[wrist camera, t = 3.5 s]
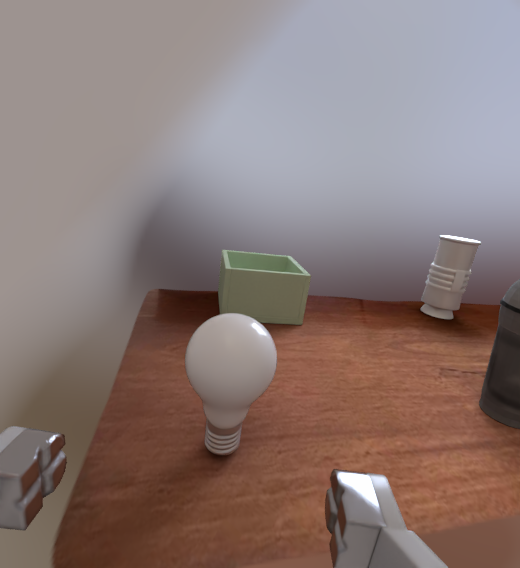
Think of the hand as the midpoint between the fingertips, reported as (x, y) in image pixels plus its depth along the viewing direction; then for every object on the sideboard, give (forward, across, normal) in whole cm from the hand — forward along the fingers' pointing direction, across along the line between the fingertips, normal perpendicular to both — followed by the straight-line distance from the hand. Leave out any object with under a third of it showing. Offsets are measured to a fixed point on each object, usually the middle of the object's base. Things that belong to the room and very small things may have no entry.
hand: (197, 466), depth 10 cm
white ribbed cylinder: (+53, -37, +12) cm, 65 cm away
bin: (+43, -1, +11) cm, 44 cm away
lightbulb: (+12, 0, +11) cm, 17 cm away
